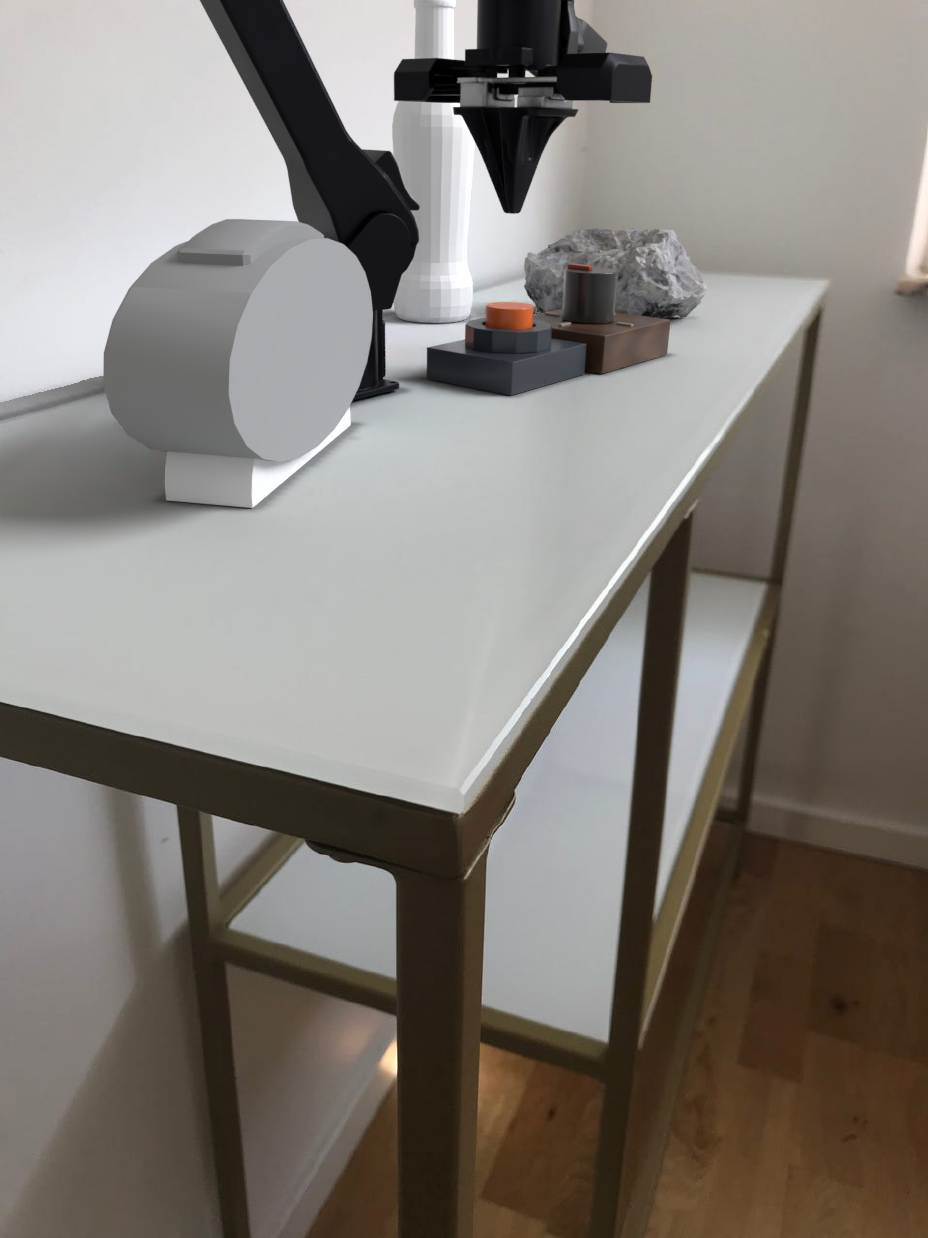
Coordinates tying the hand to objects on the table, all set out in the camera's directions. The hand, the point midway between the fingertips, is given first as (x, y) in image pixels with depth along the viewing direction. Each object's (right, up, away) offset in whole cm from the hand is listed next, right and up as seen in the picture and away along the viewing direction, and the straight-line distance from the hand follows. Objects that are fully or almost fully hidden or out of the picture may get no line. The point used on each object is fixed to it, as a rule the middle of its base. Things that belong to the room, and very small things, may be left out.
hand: (512, 212), depth 76 cm
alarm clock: (-15, -21, -17) cm, 31 cm away
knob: (+7, -5, +11) cm, 14 cm away
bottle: (-7, +1, +29) cm, 30 cm away
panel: (+7, -7, +13) cm, 16 cm away
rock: (+12, +2, +32) cm, 34 cm away
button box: (0, -11, +4) cm, 12 cm away
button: (0, -8, +3) cm, 8 cm away
